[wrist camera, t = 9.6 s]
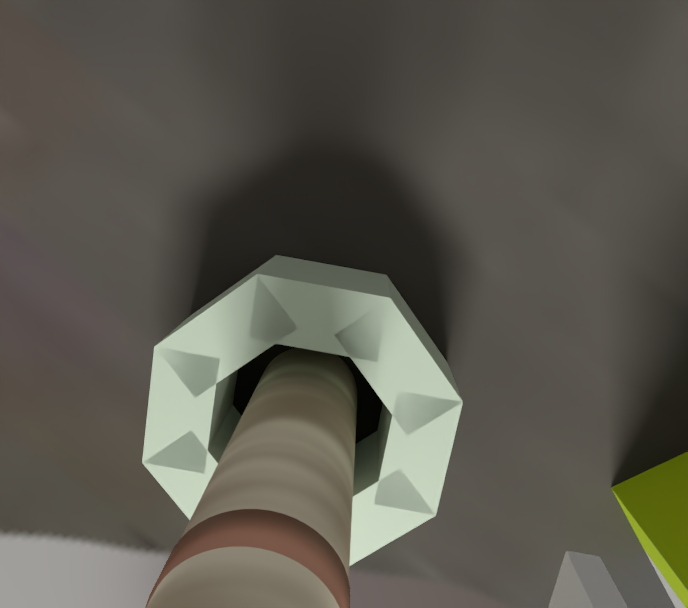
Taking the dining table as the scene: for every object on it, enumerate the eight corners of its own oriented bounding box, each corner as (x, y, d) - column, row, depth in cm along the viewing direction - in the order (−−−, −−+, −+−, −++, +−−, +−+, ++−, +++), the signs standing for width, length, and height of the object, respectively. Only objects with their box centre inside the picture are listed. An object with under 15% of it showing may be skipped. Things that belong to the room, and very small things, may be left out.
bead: (198, 240, 23) (163, 257, 19) (464, 288, 23) (483, 314, 19) (169, 480, 26) (134, 538, 22) (410, 524, 26) (418, 589, 22)
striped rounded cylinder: (265, 336, 24) (129, 568, 10) (367, 355, 24) (365, 610, 10) (251, 430, 25) (110, 755, 11) (349, 447, 25) (325, 793, 11)
